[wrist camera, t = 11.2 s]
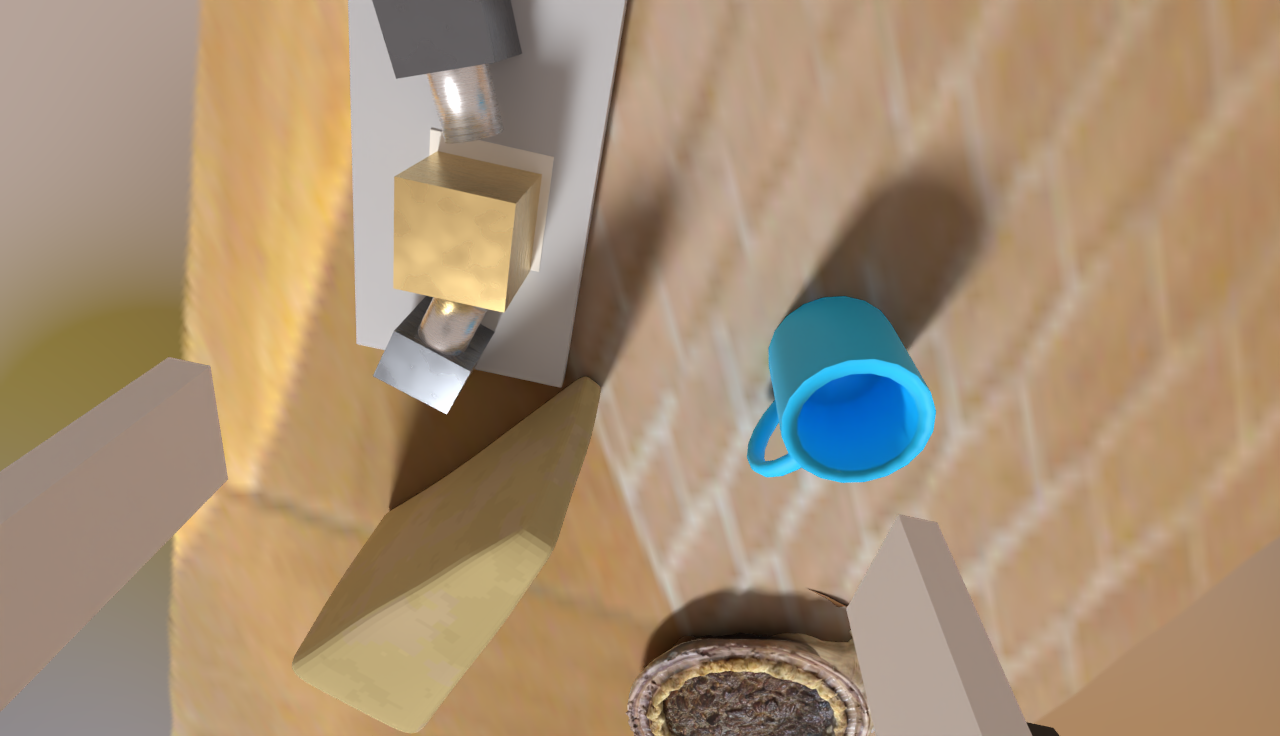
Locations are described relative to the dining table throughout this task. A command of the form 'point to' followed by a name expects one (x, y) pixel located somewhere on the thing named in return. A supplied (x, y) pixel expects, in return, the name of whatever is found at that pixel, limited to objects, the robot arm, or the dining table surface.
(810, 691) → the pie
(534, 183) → the block
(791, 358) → the mug
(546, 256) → the grey base plate
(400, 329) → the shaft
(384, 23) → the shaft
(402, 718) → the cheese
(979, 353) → the dining table surface
